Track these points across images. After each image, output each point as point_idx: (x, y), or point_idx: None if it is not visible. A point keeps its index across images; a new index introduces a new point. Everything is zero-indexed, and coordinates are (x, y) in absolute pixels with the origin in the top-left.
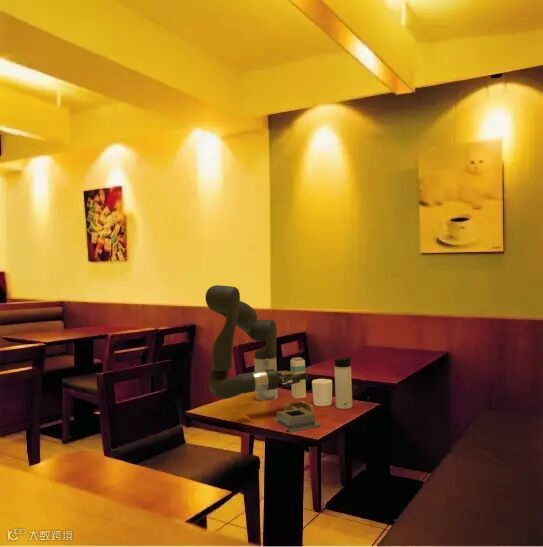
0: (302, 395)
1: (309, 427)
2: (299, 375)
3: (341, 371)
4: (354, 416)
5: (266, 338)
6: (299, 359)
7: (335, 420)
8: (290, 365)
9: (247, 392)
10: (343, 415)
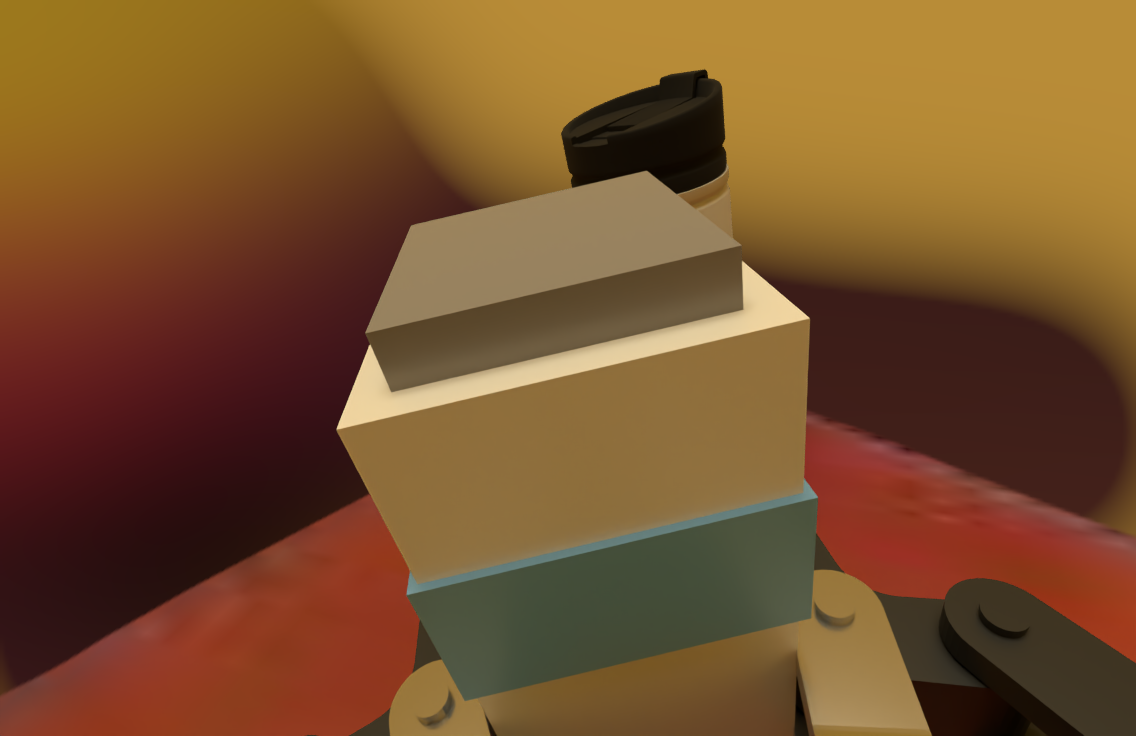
0: None
1: None
2: (995, 586)
3: (726, 214)
4: (887, 459)
5: None
6: (682, 212)
7: (1038, 590)
8: (424, 604)
9: None
10: (859, 510)
